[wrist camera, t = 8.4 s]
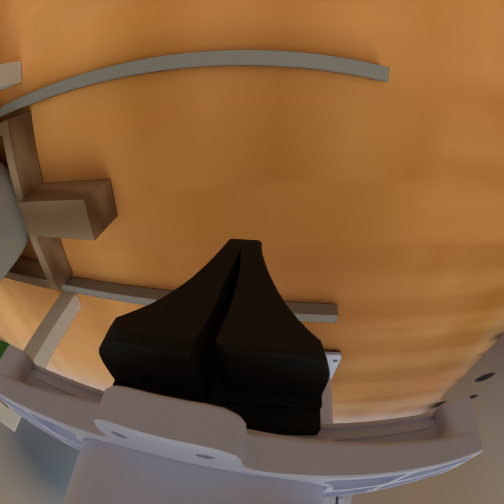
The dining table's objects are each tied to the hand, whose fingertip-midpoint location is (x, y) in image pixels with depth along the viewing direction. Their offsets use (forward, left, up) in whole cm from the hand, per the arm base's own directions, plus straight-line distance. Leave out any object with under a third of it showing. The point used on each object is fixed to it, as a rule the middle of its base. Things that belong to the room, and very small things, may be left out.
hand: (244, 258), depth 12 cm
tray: (0, +22, -5) cm, 23 cm away
